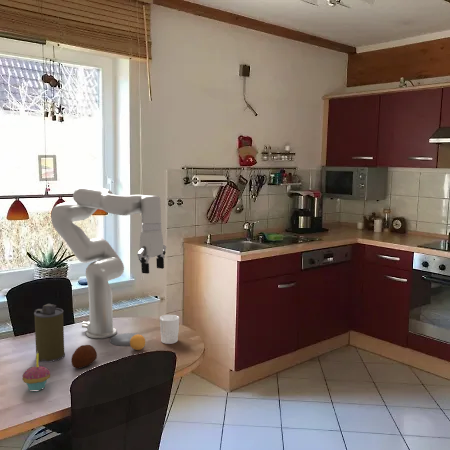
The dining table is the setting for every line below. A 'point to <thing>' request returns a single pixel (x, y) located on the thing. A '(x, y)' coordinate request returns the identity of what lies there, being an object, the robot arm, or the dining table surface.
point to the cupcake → (36, 376)
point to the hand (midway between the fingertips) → (153, 270)
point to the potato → (83, 356)
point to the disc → (122, 339)
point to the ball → (137, 342)
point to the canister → (49, 333)
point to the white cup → (169, 328)
